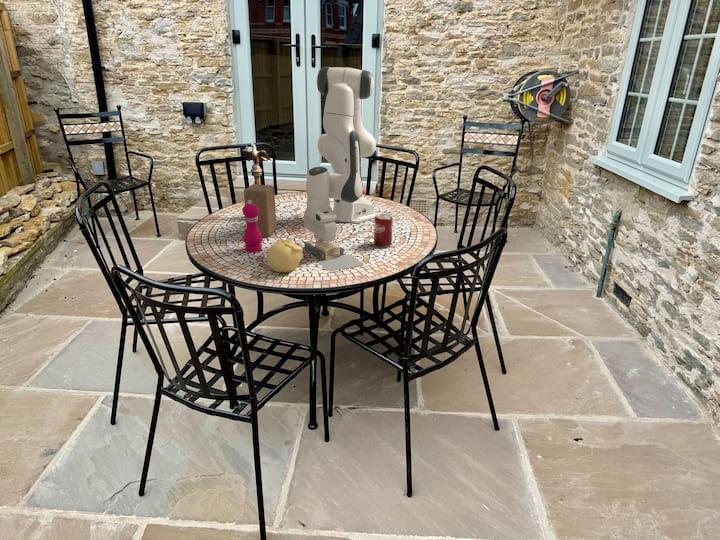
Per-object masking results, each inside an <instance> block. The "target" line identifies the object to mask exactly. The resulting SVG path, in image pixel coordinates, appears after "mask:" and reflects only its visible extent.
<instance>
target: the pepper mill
mask: <svg viewBox="0 0 720 540" xmlns="http://www.w3.org/2000/svg"><path fill="white" fill-rule="evenodd" d="M247 203H248V204H246V205H245V204H244V205H243V207H242V214H243V215H244V217H243V218H244V222H245V225H246V227H245V230H244V234H243V238H242V239H243V243H244V244H245V246H244V249H245V252H247V253H258V252H261V251H262V249H263V247H262V241H263V237H262V235H261V233H260V231H259V230H258V227H257V220H258V216H257V214H258V212H259V210H258V207H257V206H256V205H255V204H252V201H251V200H248V202H247Z"/></svg>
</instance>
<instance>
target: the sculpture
mask: <svg viewBox="0 0 720 540" xmlns="http://www.w3.org/2000/svg"><path fill="white" fill-rule="evenodd" d="M303 251H304V250H303V248H302V247H301V246H300V245H298V244H297V243H295V242H293V240H292V239H278V240H277V241H276V242H275V243H273V244H272V245H271V246H270V247H269V248H268V251H267V254H266V260H267V261H266V262H267V264H268V266H269V268H270V269H271V270H272V271H274V272H277V273H288V272H289V273H290V272H293V271H295V270H297V268H298V266H299V265H300V262H301V261H302V260H303V256H304V255H303Z"/></svg>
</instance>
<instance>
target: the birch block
mask: <svg viewBox="0 0 720 540" xmlns="http://www.w3.org/2000/svg"><path fill="white" fill-rule="evenodd" d="M314 246H315V247H316V248H317V249H318V250H320V251H321V252H323V253H324V259H325V260H328V259H333V258H337V257H341V256H340V247H341V246H340V245H338V244H336V243H335V242H334V241H331V242H326V241H319V242H316V241H315V242H314Z"/></svg>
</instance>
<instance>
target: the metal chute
mask: <svg viewBox="0 0 720 540" xmlns="http://www.w3.org/2000/svg"><path fill="white" fill-rule="evenodd" d="M303 243H304V249H305V250H307V251H308V252H309V253H310V254H312V255H313V256H314V257H316V258H318V259H319V260H320V261H323V260H325V259H324V253H323V252H321V251H320V250H318V249H317V248H316V247H315V245H313V244H312V243H310V242H308V241H305V242H303ZM339 247H340V257H341V256H345V254H344V253H345V252H344V251H345V250H344V248H343V247H341V246H339Z"/></svg>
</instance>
